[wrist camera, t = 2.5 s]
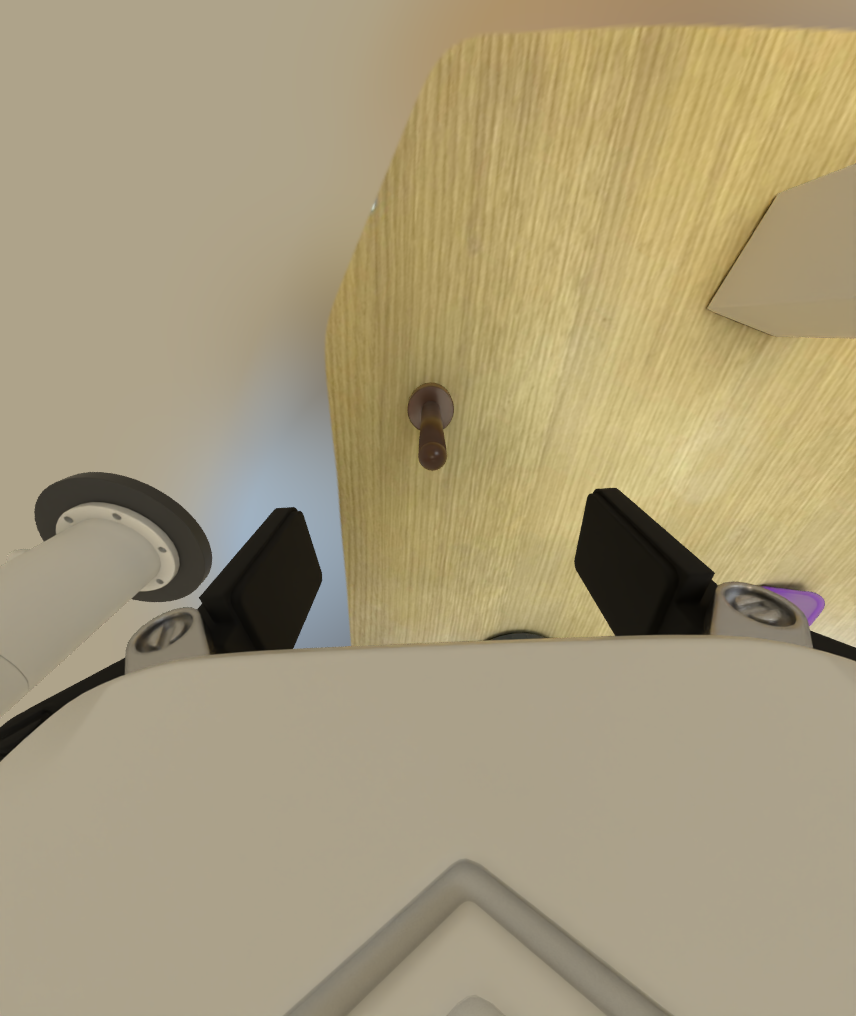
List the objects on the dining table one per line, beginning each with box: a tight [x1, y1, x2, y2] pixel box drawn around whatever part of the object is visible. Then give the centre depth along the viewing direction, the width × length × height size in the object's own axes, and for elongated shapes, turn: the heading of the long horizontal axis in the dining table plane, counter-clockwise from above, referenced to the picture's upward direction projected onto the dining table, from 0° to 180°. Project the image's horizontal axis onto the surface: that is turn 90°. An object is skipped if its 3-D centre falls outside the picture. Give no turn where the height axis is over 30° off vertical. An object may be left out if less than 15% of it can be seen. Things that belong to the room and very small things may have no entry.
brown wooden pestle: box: [408, 383, 454, 471], centre depth 23 cm, size 4×4×14 cm
